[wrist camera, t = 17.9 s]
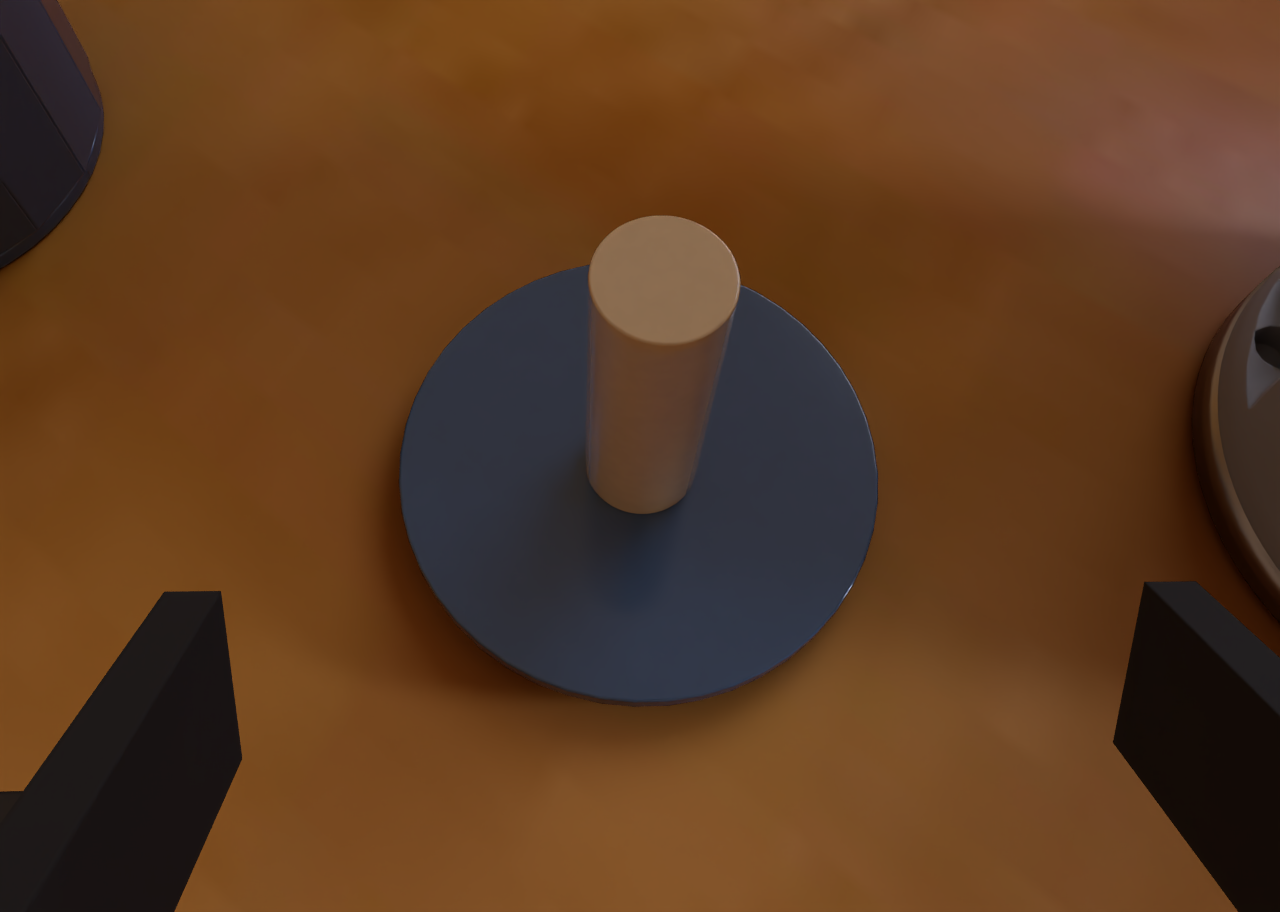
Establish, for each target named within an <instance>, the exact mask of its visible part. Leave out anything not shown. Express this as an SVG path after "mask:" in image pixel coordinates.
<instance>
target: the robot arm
mask: <svg viewBox="0 0 1280 912" xmlns="http://www.w3.org/2000/svg"><path fill="white" fill-rule="evenodd" d="M1192 431H1193V447H1194V454H1195V461H1196V467H1197V472H1198V476H1199V480H1200V484H1201V488H1202V492H1203V495H1204V497H1205V500H1206V503H1207V506H1208V509H1209V512H1210V515H1211V517H1212V519H1213V522H1214V524H1215V526H1216V528H1217V530H1218V533H1219V535H1220V537H1221V539H1222V541H1223V543H1224V545H1225V547H1226V548H1227V550H1228V552H1229V554H1230V556H1231V557H1232V559H1233V561H1234V563H1235V565H1236V566H1237V568H1238V569H1239V571H1240V572H1241V574H1242V575H1243V577H1244V578H1245V579H1246V581H1247V582H1248V584H1249V585H1250V587H1251V588H1252V590H1253V591H1254V592H1255V594H1256V595H1257V596H1258V597H1259V599H1260V600H1261V601H1262V602H1263V604H1264V605H1265V606H1266V607H1267V609H1268V610H1269V611H1270V612H1271V614H1272V615H1273V616H1274V617H1275V618H1276V619H1277V620H1278V621H1279V622H1280V266H1279V267H1278V268H1277V269H1275V270H1274V271H1273V272H1272V273H1271V274H1270V275H1269V276H1268V277H1266V278H1265V279H1264V280H1263V281H1262V282H1261V283H1260V284H1259V285H1258V286H1257V287H1256V288H1255V289H1254V290H1253V291H1252V292H1251V293H1250V294H1249V295H1248V296H1247V297H1246V298H1245V299H1244V300H1243V301H1242V302H1241V303H1240V304H1239V305H1238V306H1237V307H1236V308H1235V309H1234V311H1233V312H1232V313H1231V314H1230V315H1229V316H1228V318H1227V319H1226V320H1225V321H1224V323H1223V324H1222V326H1221V327H1220V329H1219V330H1218V332H1217V333H1216V335H1215V336H1214V338H1213V340H1212V342H1211V344H1210V346H1209V348H1208V350H1207V353H1206V355H1205V357H1204V360H1203V363H1202V366H1201V369H1200V372H1199V375H1198V379H1197V384H1196V389H1195V394H1194V402H1193V414H1192ZM1113 743H1114V745H1115V746H1116V747H1117V749H1118V750H1119V751H1120V753H1121V754H1122V755H1123V757H1124V758H1125V759H1126V761H1127V762H1128V763H1129V765H1130V766H1131V768H1132V769H1133V770H1134V772H1135V773H1136V774H1137V776H1138V777H1139V778H1140V780H1141V781H1142V782H1143V784H1144V785H1145V786H1146V788H1147V789H1148V790H1149V792H1150V793H1151V795H1152V796H1153V797H1154V799H1155V800H1156V801H1157V803H1158V804H1159V805H1160V807H1161V808H1162V809H1163V811H1164V812H1165V813H1166V815H1167V816H1168V817H1169V819H1170V820H1171V821H1172V823H1173V824H1174V826H1175V827H1176V828H1177V830H1178V831H1179V832H1180V834H1181V835H1182V836H1183V838H1184V839H1185V840H1186V842H1187V843H1188V844H1189V846H1190V847H1191V848H1192V850H1193V851H1194V853H1195V854H1196V855H1197V857H1198V858H1199V859H1200V861H1201V862H1202V863H1203V865H1204V866H1205V867H1206V869H1207V870H1208V871H1209V873H1210V874H1211V875H1212V877H1213V878H1214V879H1215V881H1216V882H1217V884H1218V885H1219V886H1220V888H1221V889H1222V890H1223V892H1224V893H1225V894H1226V896H1227V897H1228V898H1229V900H1230V901H1231V902H1232V904H1233V905H1234V906H1235V908H1236V909H1237V911H1238V912H1280V658H1279V657H1278V656H1277V655H1276V654H1275V653H1274V652H1273V651H1272V650H1270V649H1269V648H1268V647H1267V646H1266V645H1265V644H1264V643H1263V642H1262V641H1261V640H1259V639H1258V638H1257V637H1256V636H1255V635H1254V634H1253V633H1252V632H1251V631H1250V630H1248V629H1247V628H1246V627H1245V626H1244V625H1243V624H1242V623H1241V622H1240V621H1239V620H1237V619H1236V618H1235V617H1234V616H1233V615H1232V614H1231V613H1230V612H1229V611H1228V610H1227V609H1225V608H1224V607H1223V606H1222V605H1221V604H1220V603H1219V602H1218V601H1217V600H1216V599H1214V598H1213V597H1212V596H1211V595H1210V594H1209V593H1208V592H1207V591H1206V590H1205V589H1203V588H1202V587H1201V586H1200V585H1199V584H1198V583H1197V582H1196V581H1190V582H1144V587H1143V592H1142V597H1141V602H1140V607H1139V612H1138V617H1137V622H1136V627H1135V633H1134V638H1133V643H1132V648H1131V653H1130V658H1129V663H1128V668H1127V674H1126V679H1125V684H1124V689H1123V694H1122V699H1121V704H1120V709H1119V714H1118V720H1117V725H1116V730H1115V735H1114V740H1113ZM241 760H242V753H241V745H240V737H239V729H238V721H237V713H236V705H235V698H234V690H233V682H232V674H231V666H230V658H229V651H228V643H227V635H226V627H225V619H224V611H223V604H222V596H221V591H189V592H164V593H163V594H162V596H161V597H160V599H159V600H158V601H157V603H156V604H155V606H154V607H153V608H152V610H151V611H150V613H149V614H148V616H147V617H146V618H145V620H144V621H143V623H142V624H141V625H140V627H139V628H138V630H137V631H136V633H135V634H134V635H133V637H132V638H131V640H130V641H129V642H128V644H127V645H126V647H125V648H124V649H123V651H122V652H121V654H120V655H119V657H118V658H117V659H116V661H115V662H114V664H113V665H112V666H111V668H110V669H109V671H108V672H107V674H106V675H105V676H104V678H103V679H102V681H101V682H100V683H99V685H98V686H97V688H96V689H95V691H94V692H93V693H92V695H91V696H90V698H89V699H88V700H87V702H86V703H85V705H84V706H83V707H82V709H81V710H80V712H79V713H78V715H77V716H76V717H75V719H74V720H73V722H72V723H71V724H70V726H69V727H68V729H67V730H66V732H65V733H64V734H63V736H62V737H61V739H60V740H59V741H58V743H57V744H56V746H55V747H54V748H53V750H52V751H51V753H50V754H49V756H48V757H47V758H46V760H45V761H44V763H43V764H42V765H41V767H40V768H39V770H38V771H37V773H36V774H35V775H34V777H33V778H32V780H31V781H30V782H29V784H28V785H27V787H26V788H25V790H24V791H9V792H0V912H174V911H175V909H176V906H177V904H178V902H179V900H180V897H181V895H182V893H183V891H184V888H185V886H186V884H187V882H188V879H189V877H190V875H191V873H192V870H193V868H194V866H195V864H196V861H197V859H198V857H199V855H200V852H201V850H202V848H203V846H204V843H205V841H206V839H207V837H208V834H209V832H210V830H211V828H212V825H213V823H214V821H215V819H216V816H217V814H218V812H219V810H220V807H221V805H222V803H223V801H224V798H225V796H226V794H227V792H228V789H229V787H230V785H231V783H232V780H233V778H234V776H235V774H236V771H237V769H238V767H239V765H240V762H241Z"/></svg>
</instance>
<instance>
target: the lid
mask: <svg viewBox="0 0 1280 912" xmlns="http://www.w3.org/2000/svg"><path fill="white" fill-rule="evenodd" d="M399 490H400V500H401V510H402V515H403V519H404V523H405V527H406V531H407V536H408V540H409V543H410V545H411V548H412V550H413V553H414V555H415V558H416V560H417V563H418V565H419V567H420V570H421V572H422V575H423V577H424V578H425V580H426V582H427V584H428V585H429V587H430V589H431V590H432V592H433V594H434V596H435V597H436V599H437V601H438V602H439V604H440V605H441V606H442V607H443V609H444V610H445V611H446V612H447V614H448V615H449V616H450V617H451V619H452V620H453V621H454V623H455V624H456V625H457V626H458V627H459V628H460V629H461V630H462V631H463V632H464V633H465V634H466V635H467V636H468V637H469V638H470V639H471V640H472V641H473V642H474V643H475V644H476V645H477V646H478V647H479V648H480V649H482V650H483V651H485V652H486V653H487V654H489V655H490V656H491V657H493V658H494V659H495V660H497V661H498V662H500V663H501V664H502V665H504V666H505V667H506V668H508V669H510V670H512V671H514V672H515V673H517V674H519V675H521V676H523V677H525V678H527V679H528V680H530V681H532V682H534V683H536V684H538V685H541V686H544V687H546V688H549V689H551V690H554V691H557V692H559V693H562V694H565V695H567V696H571V697H576V698H580V699H584V700H588V701H593V702H597V703H602V704H612V705H622V706H632V707H641V706H668V705H675V704H681V703H687V702H693V701H699V700H703V699H706V698H709V697H713V696H716V695H719V694H722V693H726V692H729V691H732V690H734V689H736V688H739V687H741V686H743V685H745V684H747V683H750V682H752V681H754V680H756V679H758V678H760V677H762V676H764V675H765V674H767V673H768V672H770V671H772V670H773V669H775V668H776V667H778V666H779V665H781V664H783V663H784V662H786V661H787V660H789V659H790V658H791V657H792V656H793V655H795V654H796V653H797V652H798V651H799V650H800V649H802V648H803V647H804V646H805V645H806V644H807V643H809V642H810V641H811V640H812V639H813V638H814V637H815V636H816V634H817V633H818V632H819V631H820V630H821V629H822V628H823V627H824V625H825V624H826V623H827V622H828V621H829V620H830V619H831V617H832V616H833V615H834V614H835V612H836V611H837V609H838V608H839V606H840V605H841V603H842V602H843V600H844V598H845V597H846V595H847V594H848V592H849V591H850V589H851V588H852V586H853V584H854V582H855V580H856V578H857V576H858V573H859V571H860V569H861V567H862V565H863V563H864V560H865V558H866V555H867V551H868V548H869V545H870V541H871V538H872V535H873V531H874V525H875V518H876V511H877V504H878V470H877V463H876V455H875V448H874V443H873V439H872V436H871V432H870V429H869V425H868V422H867V418H866V416H865V413H864V411H863V409H862V406H861V404H860V402H859V399H858V397H857V395H856V392H855V390H854V389H853V387H852V385H851V384H850V382H849V380H848V379H847V377H846V375H845V374H844V372H843V370H842V369H841V367H840V366H839V364H838V363H837V362H836V360H835V359H834V358H833V357H832V355H831V354H830V353H829V351H828V350H827V349H826V348H825V346H824V345H823V344H822V343H821V342H820V341H819V340H818V339H817V338H816V337H815V336H814V335H813V334H812V333H811V332H810V331H809V330H808V329H807V328H806V327H805V326H804V325H803V324H802V323H801V322H799V321H798V320H797V319H796V318H794V317H793V316H792V315H791V314H789V313H788V312H787V311H785V310H784V309H783V308H782V307H780V306H779V305H777V304H775V303H774V302H772V301H771V300H769V299H767V298H766V297H764V296H762V295H761V294H759V293H758V292H756V291H754V290H752V289H749V288H747V287H745V286H743V285H741V281H740V273H739V269H738V265H737V263H736V260H735V258H734V256H733V255H732V253H731V251H730V249H729V248H728V247H727V246H726V244H725V243H724V242H723V241H722V240H721V239H720V238H719V237H718V236H717V235H716V234H714V233H713V232H712V231H711V230H709V229H707V228H706V227H704V226H702V225H700V224H698V223H696V222H694V221H691V220H688V219H684V218H680V217H675V216H648V217H643V218H639V219H635V220H633V221H630V222H627V223H625V224H623V225H621V226H620V227H618V228H617V229H615V230H614V231H612V232H611V233H610V234H609V235H608V236H607V237H606V238H605V239H604V240H603V241H602V242H601V243H600V244H599V246H598V247H597V249H596V251H595V252H594V254H593V257H592V259H591V262H590V265H586V266H582V267H577V268H573V269H569V270H565V271H561V272H558V273H555V274H552V275H549V276H547V277H544V278H541V279H538V280H536V281H533V282H531V283H529V284H527V285H525V286H523V287H521V288H519V289H517V290H515V291H513V292H511V293H509V294H507V295H506V296H504V297H503V298H501V299H500V300H498V301H497V302H495V303H494V304H492V305H491V306H489V307H488V308H486V309H485V310H484V311H482V312H481V313H480V314H479V315H478V316H477V317H475V318H474V319H473V320H472V321H471V322H470V323H468V324H467V325H466V326H465V327H464V328H463V329H462V330H461V331H460V332H459V333H458V334H457V335H456V336H455V338H454V339H453V340H452V341H451V342H450V343H449V344H448V345H447V346H446V348H445V349H444V350H443V351H442V353H441V354H440V356H439V357H438V359H437V360H436V362H435V363H434V364H433V366H432V367H431V369H430V370H429V372H428V373H427V375H426V377H425V379H424V381H423V383H422V385H421V387H420V389H419V391H418V393H417V395H416V397H415V399H414V402H413V405H412V408H411V411H410V414H409V417H408V420H407V423H406V426H405V431H404V436H403V441H402V447H401V452H400V468H399Z"/></svg>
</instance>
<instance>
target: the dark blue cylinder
mask: <svg viewBox="0 0 1280 912" xmlns="http://www.w3.org/2000/svg"><path fill="white" fill-rule="evenodd" d="M103 125H104V112H103V106H102V99H101V94H100V91H99V88H98V85H97V83H96V80H95V77H94V75H93V73H92V71H91V67H90V64H89V60H88V57H87V55H86V53H85V51H84V49H83V47H82V45H81V44H80V42H79V40H78V38H77V36H76V34H75V32H74V31H73V29H72V27H71V25H70V23H69V21H68V19H67V18H66V16H65V14H64V12H63V10H62V8H61V6H60V4H59V3H58V1H57V0H0V268H2V267H4V266H6V265H7V264H9V263H11V262H12V261H14V260H15V259H17V258H18V257H19V256H21V255H22V254H24V253H25V252H27V251H28V250H29V249H31V248H32V247H33V246H35V245H36V244H37V243H38V242H39V241H40V240H41V239H43V238H44V237H45V236H46V235H47V234H48V233H49V232H51V231H52V230H53V229H54V228H55V226H56V225H57V224H58V223H59V222H60V221H61V220H62V219H63V218H64V216H65V215H66V214H67V213H68V212H69V211H70V209H71V208H72V207H73V205H74V204H75V202H76V201H77V199H78V198H79V197H80V195H81V194H82V192H83V190H84V188H85V187H86V185H87V183H88V181H89V179H90V177H91V175H92V173H93V171H94V168H95V165H96V162H97V159H98V156H99V153H100V149H101V143H102V138H103Z"/></svg>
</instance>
